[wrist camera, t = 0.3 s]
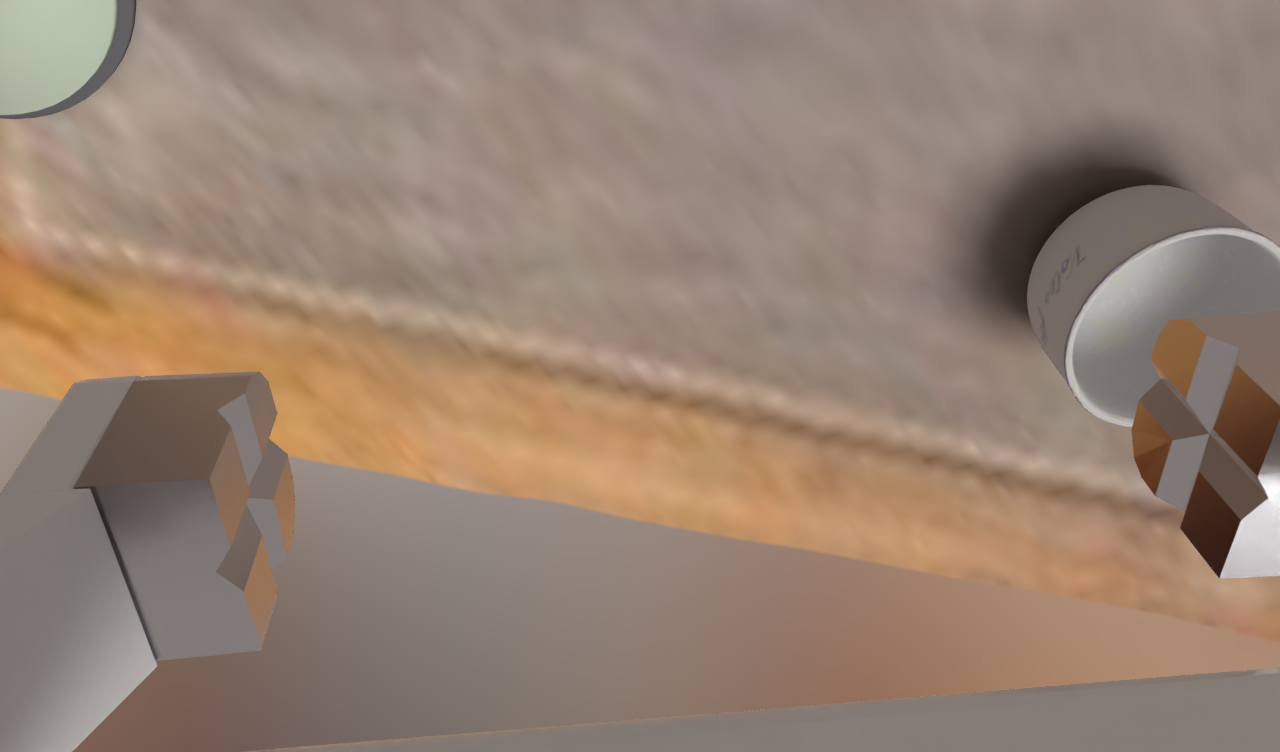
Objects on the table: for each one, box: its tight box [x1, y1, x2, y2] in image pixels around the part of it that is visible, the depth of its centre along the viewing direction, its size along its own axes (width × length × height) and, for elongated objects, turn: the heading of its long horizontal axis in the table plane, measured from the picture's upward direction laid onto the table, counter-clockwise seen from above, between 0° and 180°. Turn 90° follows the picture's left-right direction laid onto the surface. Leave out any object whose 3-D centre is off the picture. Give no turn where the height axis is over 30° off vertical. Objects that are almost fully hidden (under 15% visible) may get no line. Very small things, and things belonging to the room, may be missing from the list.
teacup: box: [1027, 185, 1280, 427], centre depth 53 cm, size 14×11×8 cm
